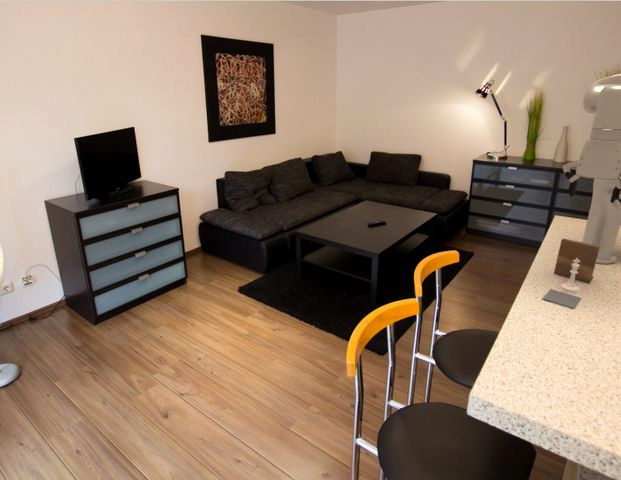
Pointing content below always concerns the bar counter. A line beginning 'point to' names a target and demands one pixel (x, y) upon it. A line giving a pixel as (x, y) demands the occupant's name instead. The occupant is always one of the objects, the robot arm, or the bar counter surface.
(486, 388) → the bar counter surface
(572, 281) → the chess piece
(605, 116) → the robot arm
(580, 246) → the brown piece
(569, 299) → the pad
